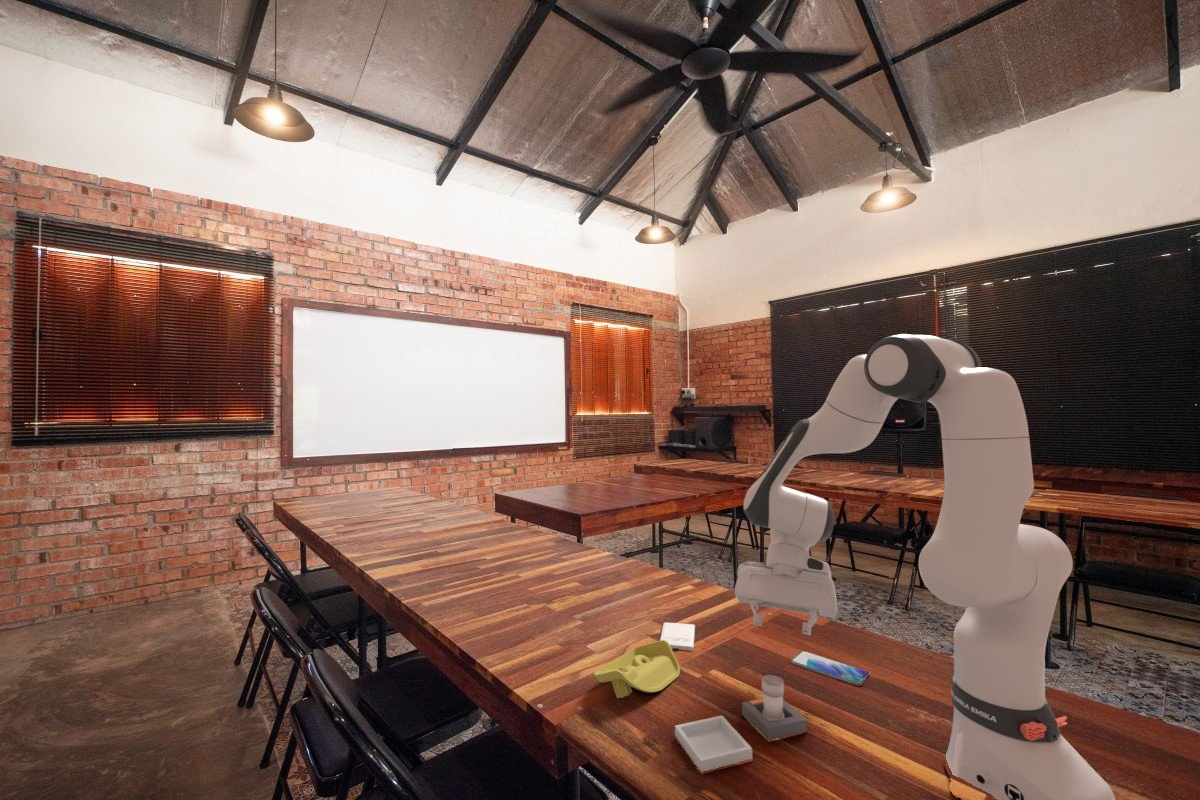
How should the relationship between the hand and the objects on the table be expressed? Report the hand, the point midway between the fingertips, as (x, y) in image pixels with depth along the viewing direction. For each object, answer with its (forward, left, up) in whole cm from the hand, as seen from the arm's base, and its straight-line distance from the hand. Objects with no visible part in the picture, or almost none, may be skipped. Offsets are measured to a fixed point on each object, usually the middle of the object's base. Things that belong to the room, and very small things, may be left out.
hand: (781, 628), depth 103 cm
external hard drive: (+30, +9, -14) cm, 34 cm away
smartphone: (+5, -16, -14) cm, 22 cm away
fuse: (-8, +8, -13) cm, 17 cm away
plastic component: (+14, +26, -14) cm, 33 cm away
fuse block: (-8, +8, -13) cm, 17 cm away
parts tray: (-10, +22, -13) cm, 27 cm away
